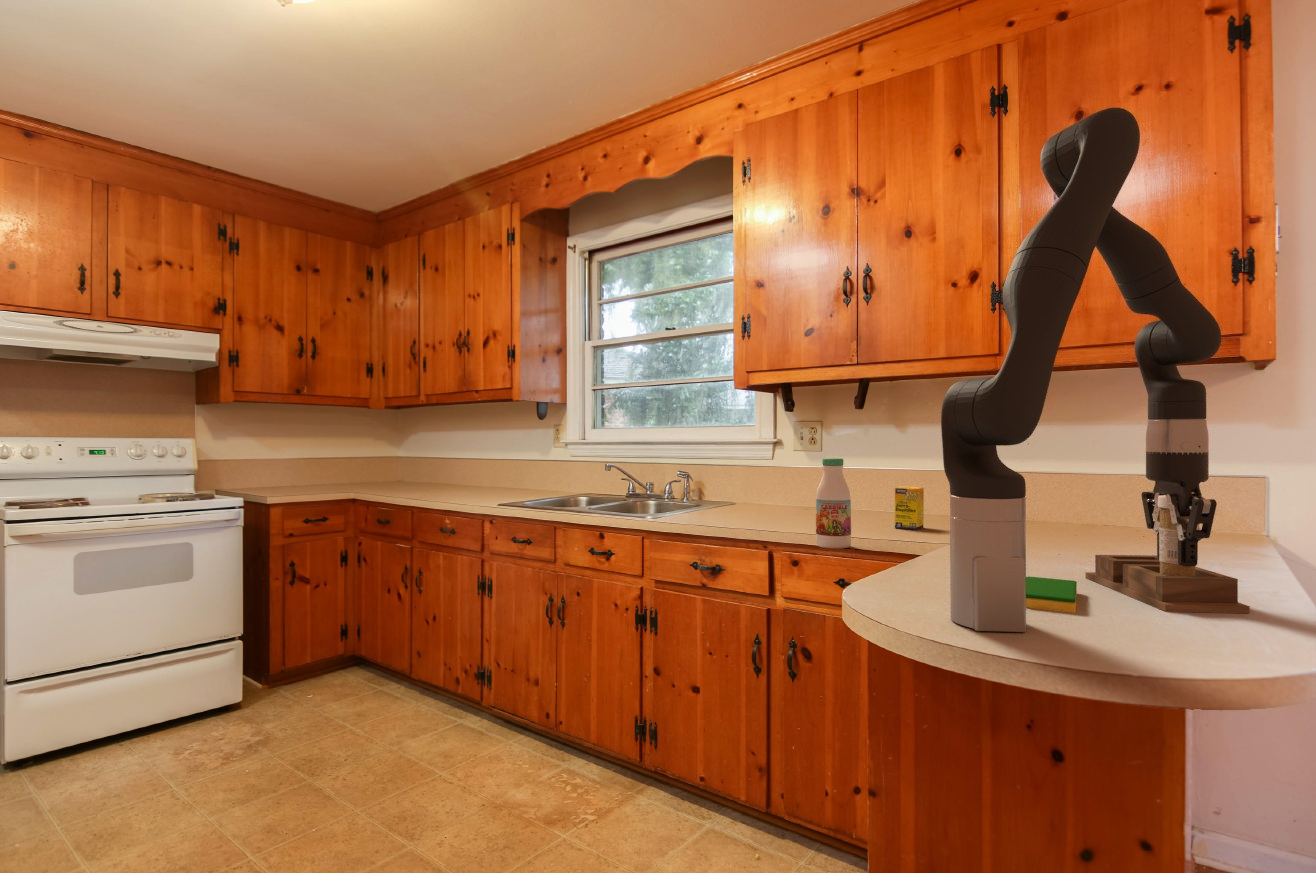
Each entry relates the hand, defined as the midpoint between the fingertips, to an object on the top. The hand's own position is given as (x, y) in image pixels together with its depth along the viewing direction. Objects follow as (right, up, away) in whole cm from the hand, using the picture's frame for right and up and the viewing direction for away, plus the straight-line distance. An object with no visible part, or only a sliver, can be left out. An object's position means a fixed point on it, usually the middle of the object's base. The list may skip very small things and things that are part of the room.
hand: (1176, 561), depth 102 cm
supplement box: (-11, -6, +77) cm, 79 cm away
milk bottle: (-39, -6, +50) cm, 64 cm away
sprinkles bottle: (0, -3, 0) cm, 3 cm away
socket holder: (+1, -6, +5) cm, 7 cm away
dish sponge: (-18, -7, +2) cm, 20 cm away
